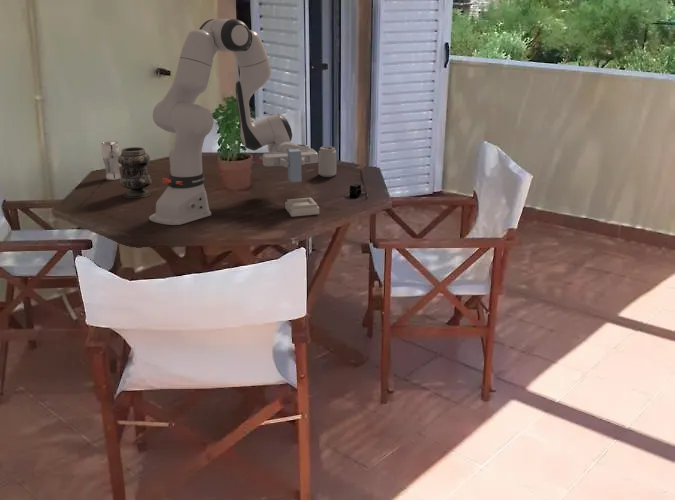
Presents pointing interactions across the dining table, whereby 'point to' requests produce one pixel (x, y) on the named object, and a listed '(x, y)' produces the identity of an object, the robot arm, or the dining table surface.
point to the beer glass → (111, 159)
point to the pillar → (294, 165)
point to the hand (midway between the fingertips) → (295, 163)
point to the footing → (301, 207)
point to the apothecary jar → (135, 171)
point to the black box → (355, 191)
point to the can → (327, 161)
